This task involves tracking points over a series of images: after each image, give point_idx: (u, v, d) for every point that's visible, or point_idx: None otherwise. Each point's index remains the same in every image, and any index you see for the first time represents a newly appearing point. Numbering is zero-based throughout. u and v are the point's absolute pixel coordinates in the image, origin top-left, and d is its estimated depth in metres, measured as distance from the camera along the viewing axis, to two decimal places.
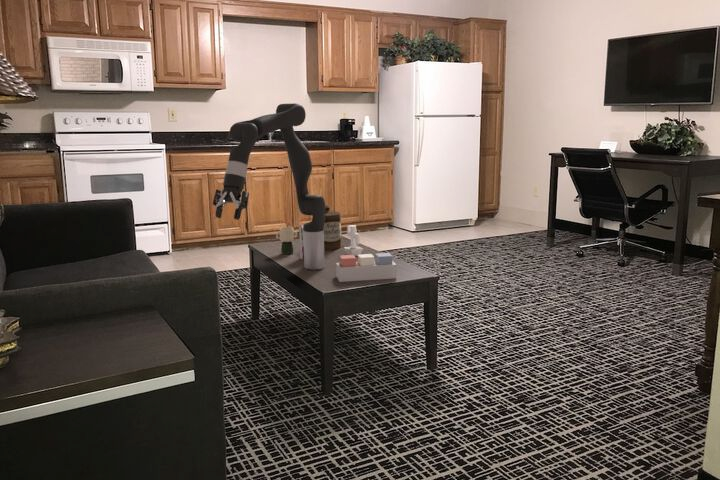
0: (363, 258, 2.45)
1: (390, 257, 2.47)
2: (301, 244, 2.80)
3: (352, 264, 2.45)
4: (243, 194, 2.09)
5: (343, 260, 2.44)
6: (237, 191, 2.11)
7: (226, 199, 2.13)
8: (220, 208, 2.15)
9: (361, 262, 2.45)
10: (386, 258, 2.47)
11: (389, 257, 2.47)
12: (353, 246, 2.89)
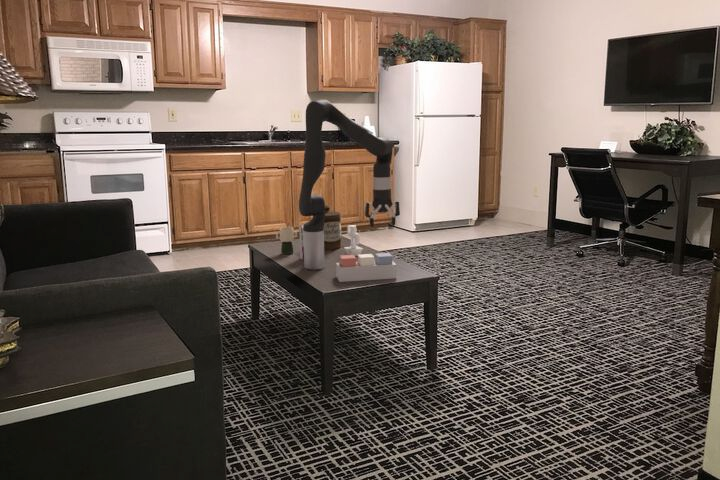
0: (363, 258, 2.45)
1: (390, 257, 2.47)
2: (301, 244, 2.80)
3: (352, 264, 2.45)
4: (398, 204, 2.42)
5: (343, 260, 2.44)
6: (390, 202, 2.42)
7: (380, 210, 2.42)
8: None
9: (361, 262, 2.45)
10: (386, 258, 2.47)
11: (389, 257, 2.47)
12: (353, 246, 2.89)
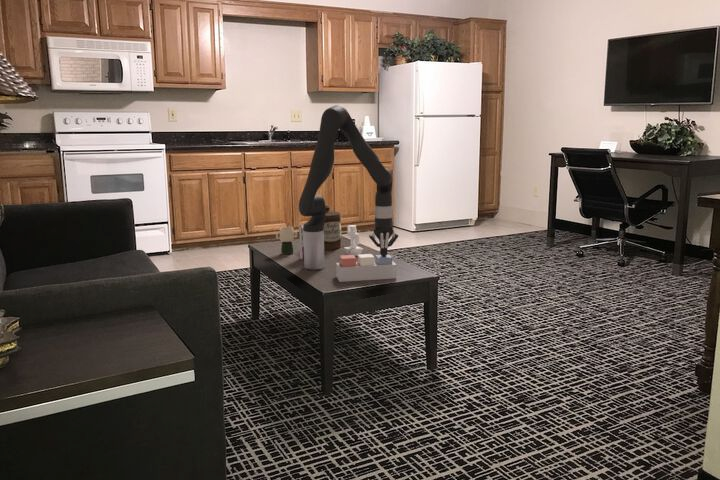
0: (363, 258, 2.45)
1: (390, 258, 2.47)
2: (301, 244, 2.80)
3: (352, 264, 2.45)
4: (396, 237, 2.48)
5: (343, 260, 2.44)
6: (392, 231, 2.47)
7: (384, 237, 2.47)
8: None
9: (361, 262, 2.45)
10: (386, 259, 2.47)
11: (389, 258, 2.47)
12: (353, 246, 2.89)
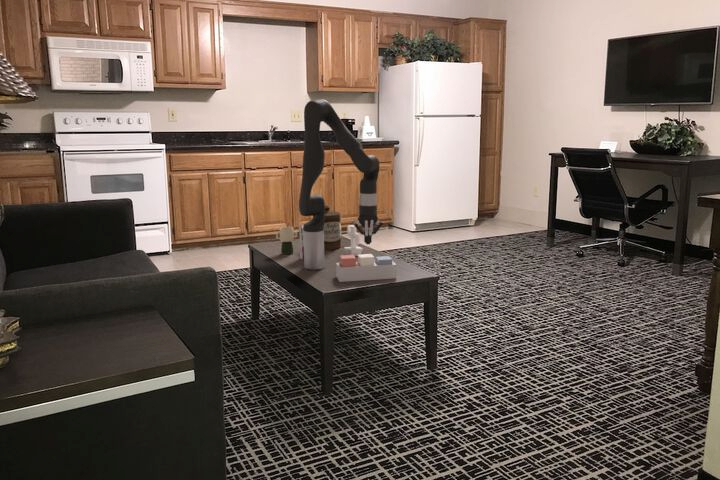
0: (363, 258, 2.45)
1: (390, 260, 2.48)
2: (301, 244, 2.80)
3: (352, 264, 2.45)
4: (380, 225, 2.47)
5: (343, 260, 2.44)
6: (376, 218, 2.46)
7: (369, 224, 2.46)
8: None
9: (361, 262, 2.45)
10: (386, 261, 2.47)
11: (389, 260, 2.48)
12: (353, 246, 2.89)
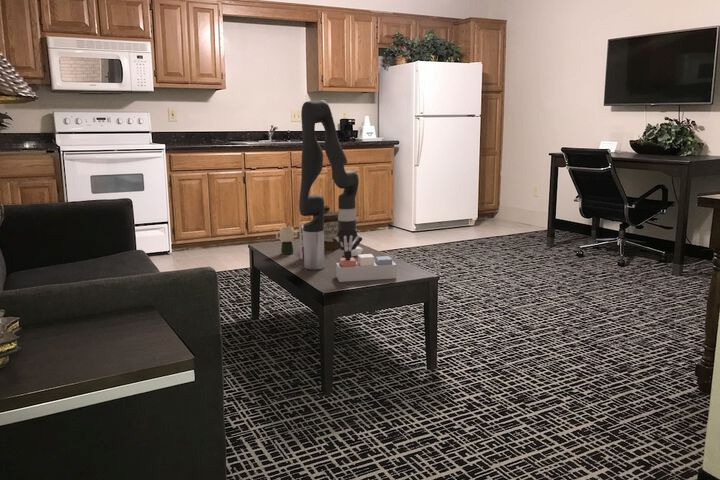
0: (363, 258, 2.45)
1: (390, 260, 2.48)
2: (301, 244, 2.80)
3: (353, 266, 2.45)
4: (360, 240, 2.45)
5: (343, 263, 2.44)
6: (356, 234, 2.44)
7: (348, 239, 2.44)
8: (347, 251, 2.46)
9: (361, 262, 2.45)
10: (386, 261, 2.47)
11: (389, 260, 2.48)
12: None
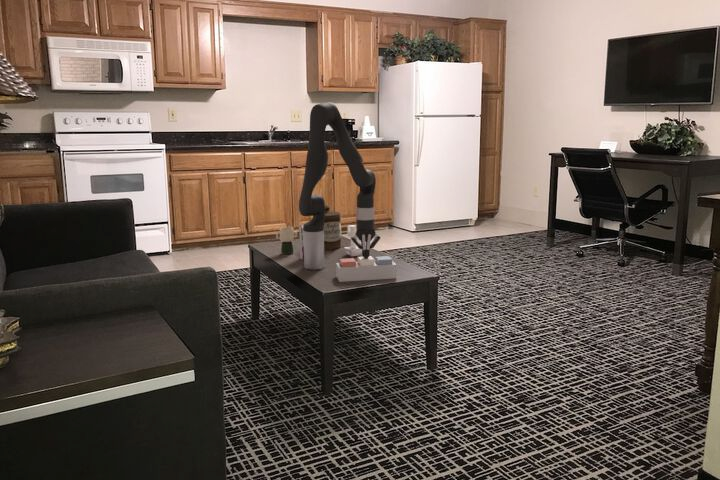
0: (363, 260, 2.45)
1: (390, 260, 2.48)
2: (301, 244, 2.80)
3: None
4: (378, 239, 2.46)
5: (343, 263, 2.44)
6: (374, 233, 2.46)
7: (366, 238, 2.46)
8: None
9: (361, 264, 2.46)
10: (386, 261, 2.47)
11: (389, 260, 2.48)
12: (353, 246, 2.89)
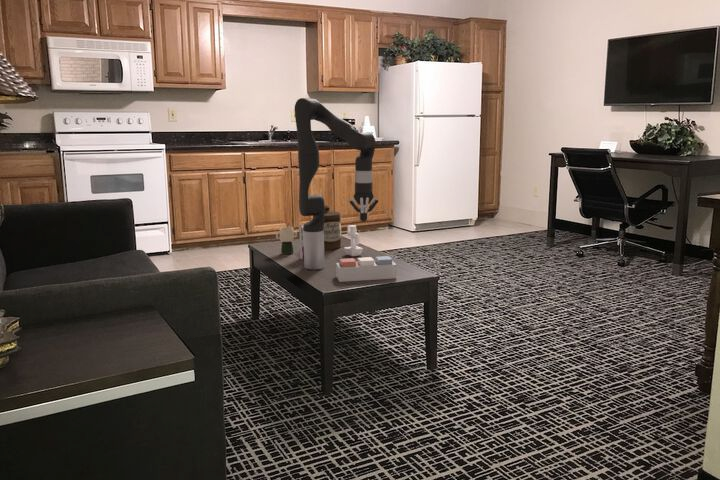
0: (363, 261, 2.45)
1: (390, 260, 2.48)
2: (301, 244, 2.80)
3: None
4: (376, 202, 2.48)
5: (343, 263, 2.44)
6: (372, 196, 2.47)
7: (364, 201, 2.47)
8: (363, 213, 2.49)
9: (361, 265, 2.46)
10: (386, 261, 2.47)
11: (389, 260, 2.48)
12: (353, 246, 2.89)
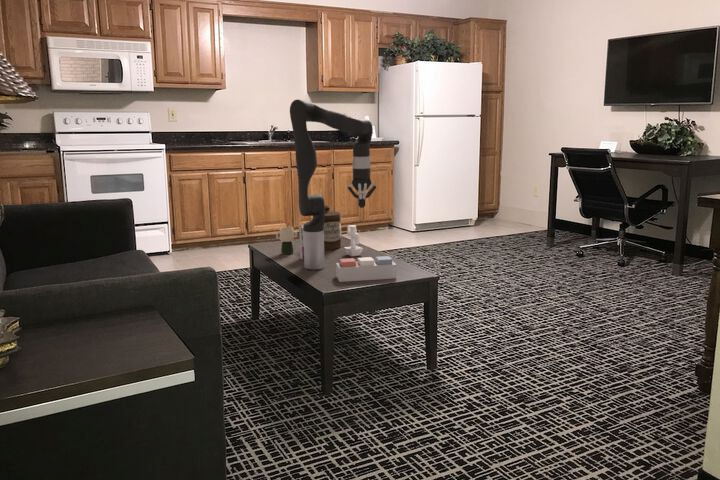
0: (363, 261, 2.45)
1: (390, 260, 2.48)
2: (301, 244, 2.80)
3: None
4: (374, 188, 2.50)
5: (343, 263, 2.44)
6: (370, 182, 2.49)
7: (362, 187, 2.49)
8: None
9: (361, 265, 2.46)
10: (386, 261, 2.47)
11: (389, 260, 2.48)
12: (353, 246, 2.89)
